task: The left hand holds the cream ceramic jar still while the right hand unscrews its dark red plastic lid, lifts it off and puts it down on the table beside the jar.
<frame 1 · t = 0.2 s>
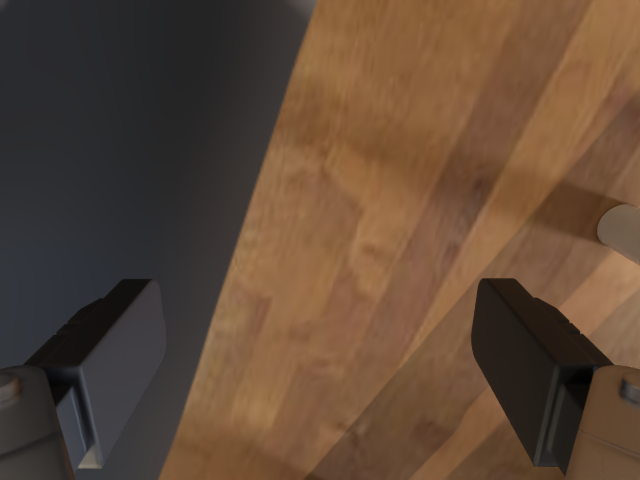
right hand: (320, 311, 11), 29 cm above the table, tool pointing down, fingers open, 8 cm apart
jar: (619, 226, 41), on the table
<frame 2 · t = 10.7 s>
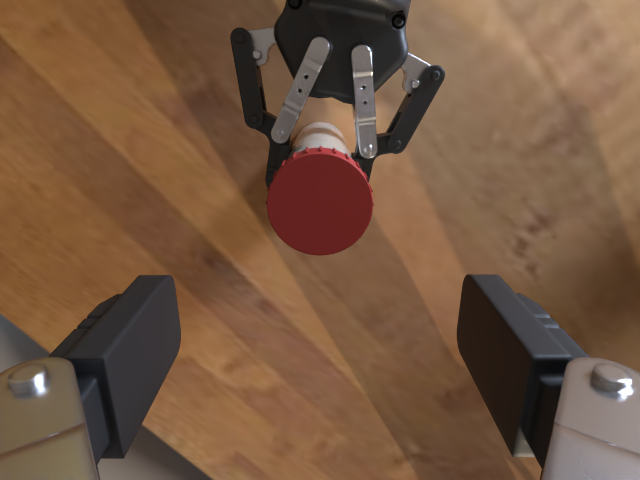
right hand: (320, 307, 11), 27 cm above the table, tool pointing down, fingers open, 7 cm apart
left hand: (313, 199, 31), fingers closed on jar, 4 cm apart
jar: (320, 148, 36), on the table, touching left hand
lid: (319, 204, 20), point 17 cm above the table, screwed on, not yet turned
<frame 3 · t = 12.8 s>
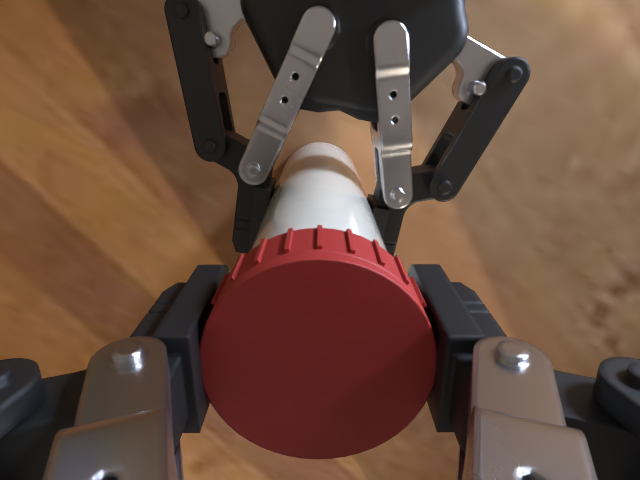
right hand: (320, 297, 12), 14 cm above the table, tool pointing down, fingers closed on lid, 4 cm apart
left hand: (309, 267, 20), fingers closed on jar, 4 cm apart
jar: (319, 180, 25), on the table, touching left hand
lid: (318, 358, 9), point 17 cm above the table, screwed on, not yet turned, touching right hand
when the right hand's fingers open (15 cm above the table, at t = 14.6 s): lid stays where it is, point 17 cm above the table.
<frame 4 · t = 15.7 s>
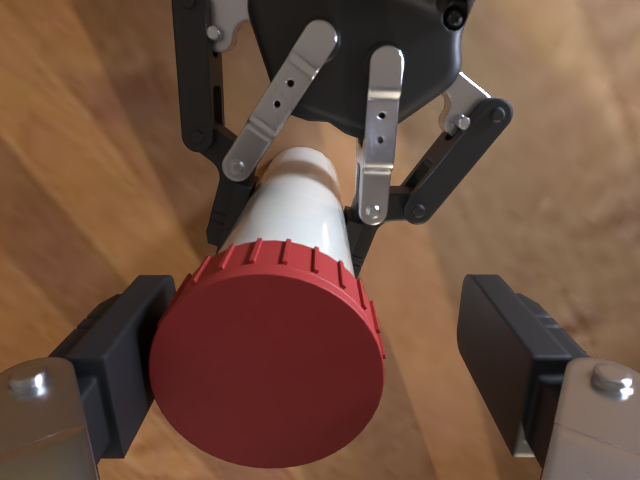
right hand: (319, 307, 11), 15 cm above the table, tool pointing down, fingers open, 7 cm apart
left hand: (278, 268, 20), fingers closed on jar, 4 cm apart
jar: (301, 183, 25), on the table, touching left hand
lid: (268, 369, 9), point 17 cm above the table, turned 90° so far, risen 0.3 cm, still on its thread
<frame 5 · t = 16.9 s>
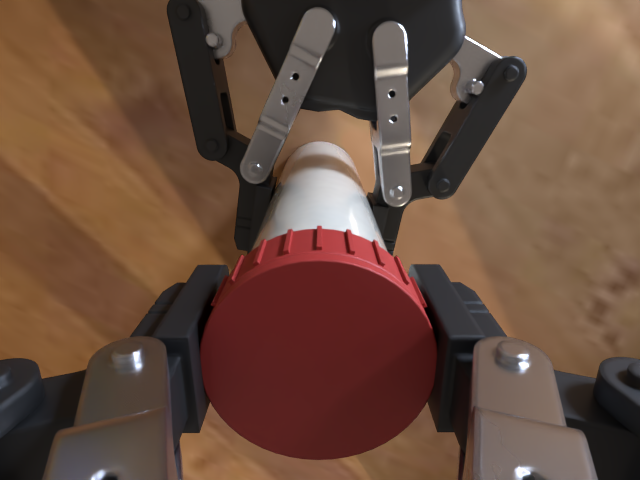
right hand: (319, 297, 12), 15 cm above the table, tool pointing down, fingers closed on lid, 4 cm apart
left hand: (310, 265, 20), fingers closed on jar, 4 cm apart
jar: (319, 178, 25), on the table, touching left hand
lid: (318, 359, 9), point 17 cm above the table, turned 90° so far, risen 0.3 cm, still on its thread, touching right hand
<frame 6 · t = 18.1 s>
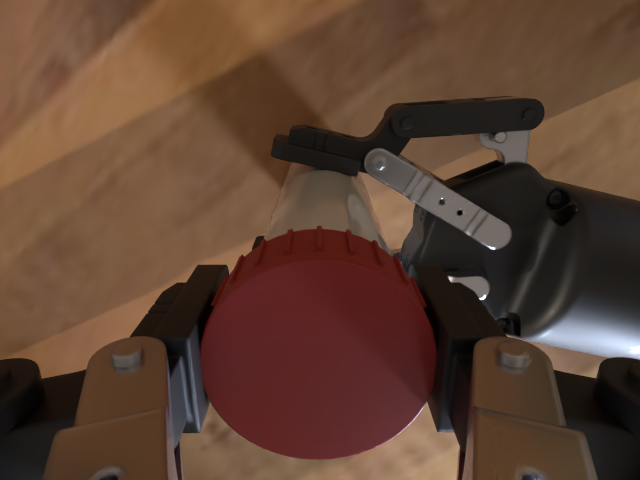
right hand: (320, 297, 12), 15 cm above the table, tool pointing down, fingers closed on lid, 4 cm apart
left hand: (264, 200, 20), fingers closed on jar, 4 cm apart
jar: (323, 181, 26), on the table, touching left hand
lid: (318, 359, 9), point 18 cm above the table, off its thread, touching right hand
when the right hand's fingers open (0 cm above the table, at t = 24.0 s): lid drops 2 cm, point 1 cm above the table.
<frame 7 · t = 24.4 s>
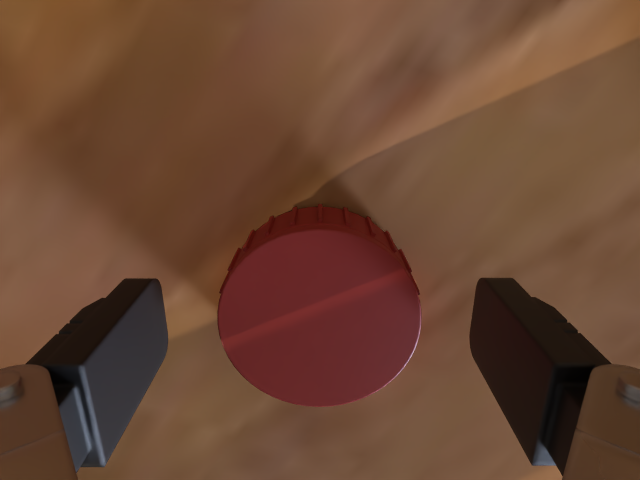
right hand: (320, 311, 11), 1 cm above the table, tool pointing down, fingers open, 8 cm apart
lid: (319, 317, 11), point 1 cm above the table, off its thread
when the left hand's fingers open (6 cm above the table, at t = 25.0 s): jar stays where it is, on the table.
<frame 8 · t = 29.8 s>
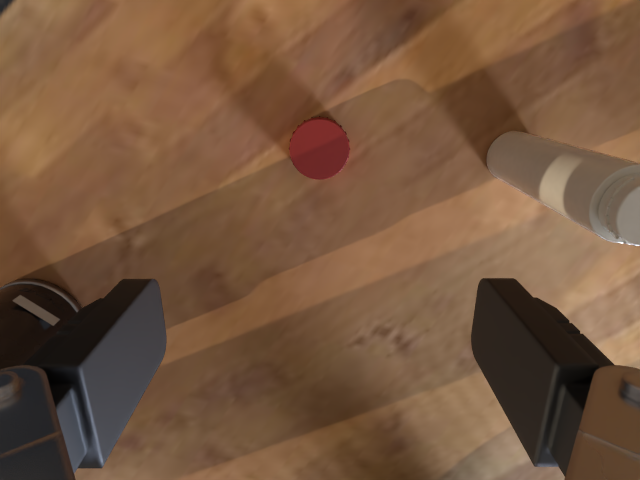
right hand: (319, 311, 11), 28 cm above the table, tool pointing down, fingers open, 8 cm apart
jar: (511, 156, 37), on the table
lid: (319, 149, 36), point 1 cm above the table, off its thread
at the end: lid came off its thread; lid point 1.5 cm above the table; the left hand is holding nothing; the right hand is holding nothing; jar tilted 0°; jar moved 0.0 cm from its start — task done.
